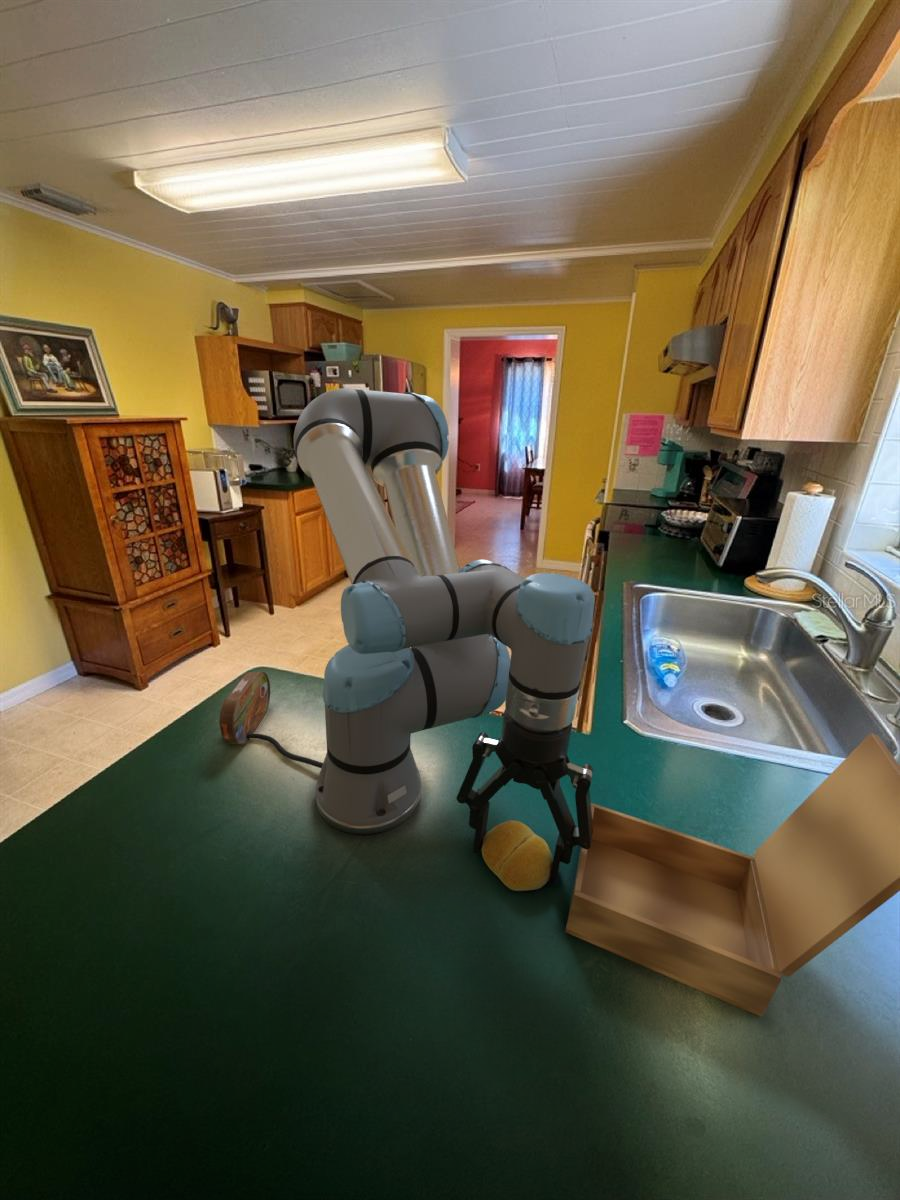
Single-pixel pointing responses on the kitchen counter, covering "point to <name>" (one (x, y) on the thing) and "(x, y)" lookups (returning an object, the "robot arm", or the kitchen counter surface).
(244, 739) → the tin
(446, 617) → the robot arm
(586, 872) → the bread box
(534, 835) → the bread roll
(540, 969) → the kitchen counter surface
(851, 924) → the bread box lid
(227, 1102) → the kitchen counter surface
